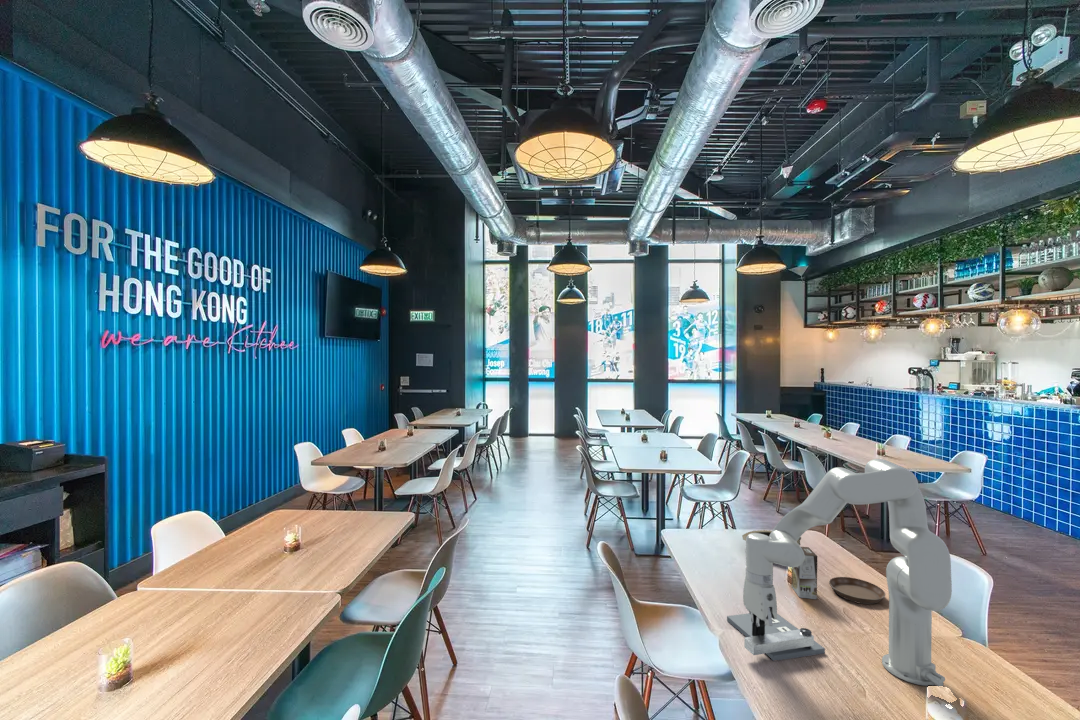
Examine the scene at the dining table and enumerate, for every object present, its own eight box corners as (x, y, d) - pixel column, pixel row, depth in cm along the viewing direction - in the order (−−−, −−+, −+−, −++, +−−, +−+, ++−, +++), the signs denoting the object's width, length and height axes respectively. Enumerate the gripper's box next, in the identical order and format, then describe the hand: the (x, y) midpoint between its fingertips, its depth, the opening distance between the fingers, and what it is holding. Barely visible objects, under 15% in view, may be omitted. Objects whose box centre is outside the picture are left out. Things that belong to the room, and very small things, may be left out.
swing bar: (804, 640, 143) (804, 626, 143) (815, 648, 139) (815, 633, 139) (744, 650, 138) (744, 635, 138) (753, 658, 134) (753, 643, 134)
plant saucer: (849, 607, 168) (849, 598, 168) (819, 583, 186) (819, 576, 186) (897, 607, 168) (897, 598, 168) (862, 584, 186) (862, 576, 186)
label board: (824, 653, 140) (824, 647, 140) (773, 661, 136) (773, 654, 136) (772, 614, 162) (772, 609, 162) (726, 620, 157) (727, 615, 157)
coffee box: (817, 599, 172) (818, 556, 172) (798, 597, 174) (799, 554, 174) (808, 588, 181) (809, 546, 181) (790, 586, 183) (791, 545, 183)
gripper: (787, 586, 135) (787, 650, 135) (753, 564, 149) (753, 622, 149) (765, 589, 133) (764, 653, 133) (732, 566, 148) (732, 624, 148)
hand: (758, 636), depth 141 cm, fingers closed
